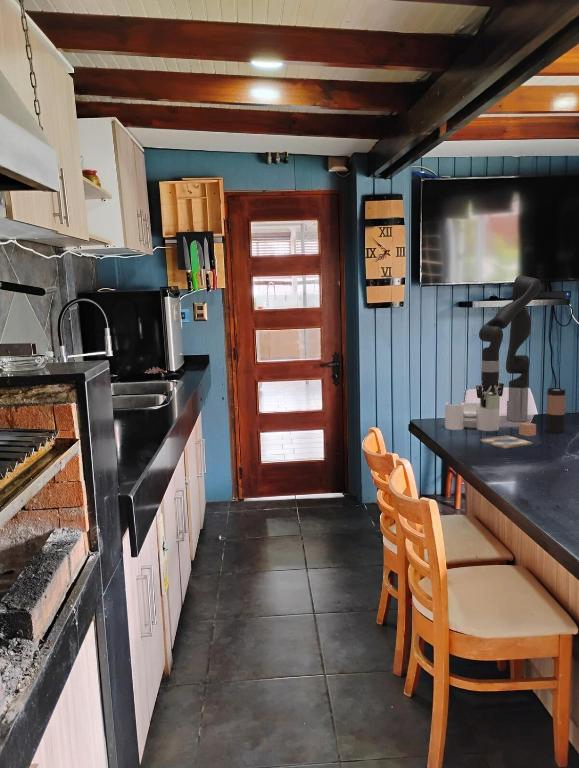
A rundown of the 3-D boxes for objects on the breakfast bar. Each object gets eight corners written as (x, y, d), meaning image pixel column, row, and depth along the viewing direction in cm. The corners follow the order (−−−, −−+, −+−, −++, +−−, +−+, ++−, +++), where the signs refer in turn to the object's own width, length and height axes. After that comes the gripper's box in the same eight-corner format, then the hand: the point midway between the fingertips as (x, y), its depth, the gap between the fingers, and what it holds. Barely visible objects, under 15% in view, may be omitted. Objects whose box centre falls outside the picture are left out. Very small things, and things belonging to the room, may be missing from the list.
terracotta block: (519, 434, 261) (519, 423, 260) (527, 433, 263) (527, 422, 262) (527, 436, 256) (527, 425, 256) (535, 435, 258) (536, 424, 258)
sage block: (479, 407, 262) (480, 394, 261) (490, 406, 264) (490, 393, 263) (488, 409, 257) (488, 396, 256) (499, 408, 259) (499, 395, 258)
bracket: (445, 430, 274) (445, 405, 273) (445, 425, 284) (445, 402, 282) (500, 431, 268) (500, 406, 266) (498, 427, 277) (498, 402, 275)
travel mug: (545, 432, 261) (546, 390, 258) (546, 429, 268) (547, 387, 265) (563, 434, 258) (565, 390, 255) (564, 430, 264) (565, 388, 262)
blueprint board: (480, 440, 251) (480, 438, 251) (507, 437, 256) (507, 435, 256) (504, 448, 237) (504, 446, 237) (532, 444, 242) (532, 442, 242)
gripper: (497, 368, 264) (496, 403, 266) (471, 370, 259) (471, 406, 261) (508, 369, 257) (507, 406, 259) (482, 372, 252) (482, 409, 254)
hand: (489, 406), depth 260 cm, fingers closed on sage block, 6 cm apart
